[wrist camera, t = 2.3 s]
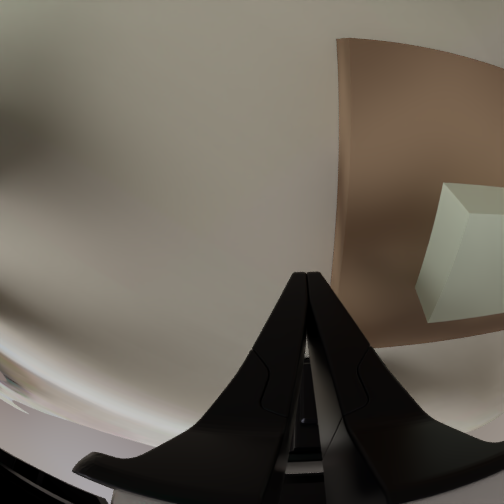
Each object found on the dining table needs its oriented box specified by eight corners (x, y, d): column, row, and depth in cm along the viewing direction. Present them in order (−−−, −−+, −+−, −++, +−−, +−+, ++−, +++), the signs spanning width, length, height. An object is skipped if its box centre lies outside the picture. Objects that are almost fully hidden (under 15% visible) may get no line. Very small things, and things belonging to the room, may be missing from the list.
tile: (497, 281, 11) (514, 310, 10) (414, 287, 12) (427, 323, 10) (532, 190, 8) (559, 218, 7) (443, 182, 9) (469, 213, 7)
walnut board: (514, 303, 15) (525, 325, 13) (326, 321, 17) (329, 351, 15) (581, 105, 6) (606, 120, 5) (336, 38, 8) (348, 37, 6)
